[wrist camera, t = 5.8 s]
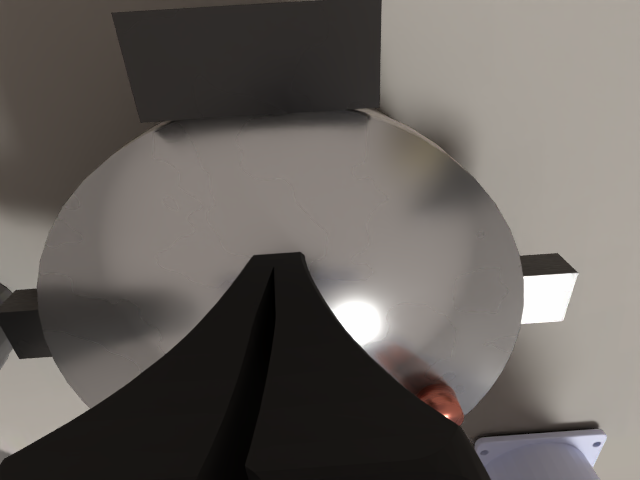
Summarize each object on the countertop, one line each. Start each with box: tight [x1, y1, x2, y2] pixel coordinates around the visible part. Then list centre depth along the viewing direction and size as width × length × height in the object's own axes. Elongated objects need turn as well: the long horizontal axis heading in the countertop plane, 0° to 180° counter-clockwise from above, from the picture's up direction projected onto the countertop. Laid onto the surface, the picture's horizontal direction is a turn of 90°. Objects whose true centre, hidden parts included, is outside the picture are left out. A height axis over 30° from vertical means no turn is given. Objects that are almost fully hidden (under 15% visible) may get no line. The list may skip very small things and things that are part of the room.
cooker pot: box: [0, 108, 578, 359], centre depth 15 cm, size 13×19×6 cm
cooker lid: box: [37, 0, 524, 426], centre depth 12 cm, size 15×14×2 cm
